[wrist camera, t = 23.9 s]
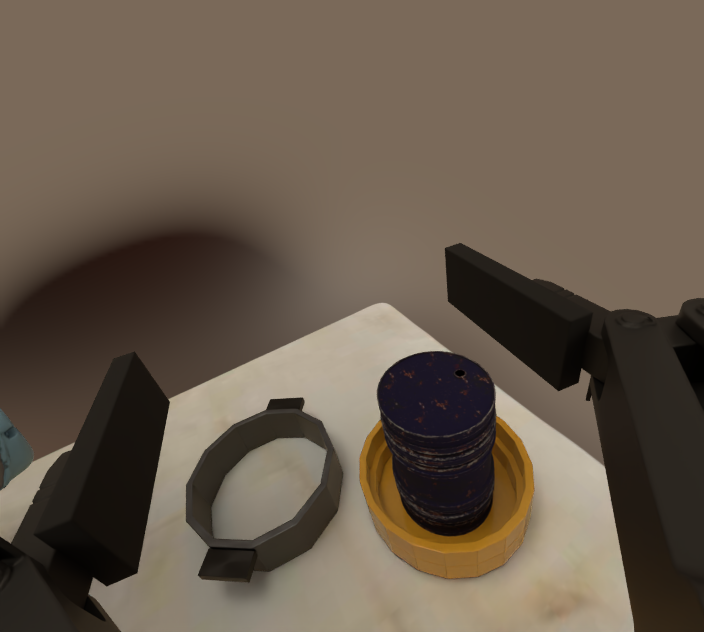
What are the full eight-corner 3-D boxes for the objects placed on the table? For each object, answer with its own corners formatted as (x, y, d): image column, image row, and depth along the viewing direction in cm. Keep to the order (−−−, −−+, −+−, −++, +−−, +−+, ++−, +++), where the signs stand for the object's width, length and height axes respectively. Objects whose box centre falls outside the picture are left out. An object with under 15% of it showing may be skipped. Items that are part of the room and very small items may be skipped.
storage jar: (436, 560, 32) (421, 462, 24) (381, 477, 40) (355, 382, 32) (516, 500, 35) (526, 394, 27) (450, 433, 43) (442, 336, 35)
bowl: (496, 628, 28) (497, 601, 25) (339, 517, 37) (327, 488, 35) (548, 464, 38) (553, 431, 35) (413, 410, 47) (408, 381, 44)
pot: (323, 604, 31) (308, 580, 29) (166, 591, 35) (140, 570, 32) (351, 418, 48) (343, 393, 46) (244, 422, 52) (231, 399, 49)
